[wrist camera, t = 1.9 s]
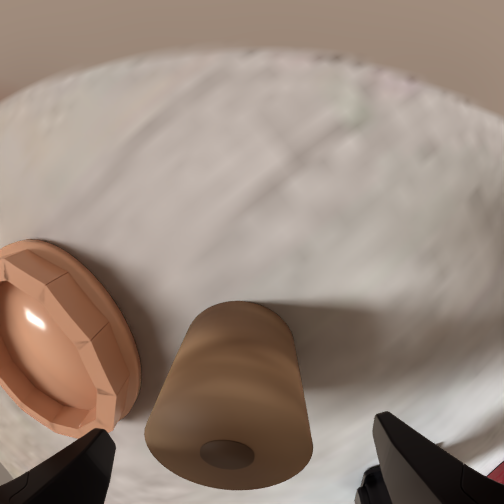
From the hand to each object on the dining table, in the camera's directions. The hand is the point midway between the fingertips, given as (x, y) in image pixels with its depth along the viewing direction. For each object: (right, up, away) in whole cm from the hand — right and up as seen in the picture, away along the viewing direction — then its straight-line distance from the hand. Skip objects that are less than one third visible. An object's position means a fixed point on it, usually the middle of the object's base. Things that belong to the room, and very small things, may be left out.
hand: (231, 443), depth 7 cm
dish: (-11, +1, +6) cm, 12 cm away
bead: (0, +1, +5) cm, 6 cm away
